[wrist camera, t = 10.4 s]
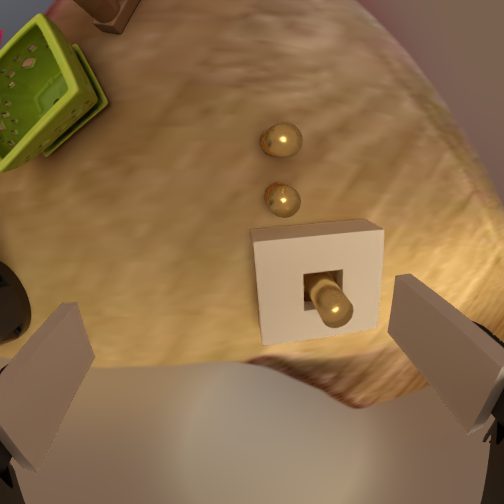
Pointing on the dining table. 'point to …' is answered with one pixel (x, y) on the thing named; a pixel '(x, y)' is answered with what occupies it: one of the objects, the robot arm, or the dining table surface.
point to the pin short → (282, 199)
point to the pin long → (328, 299)
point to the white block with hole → (311, 261)
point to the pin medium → (281, 140)
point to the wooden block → (109, 13)
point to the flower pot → (43, 93)
